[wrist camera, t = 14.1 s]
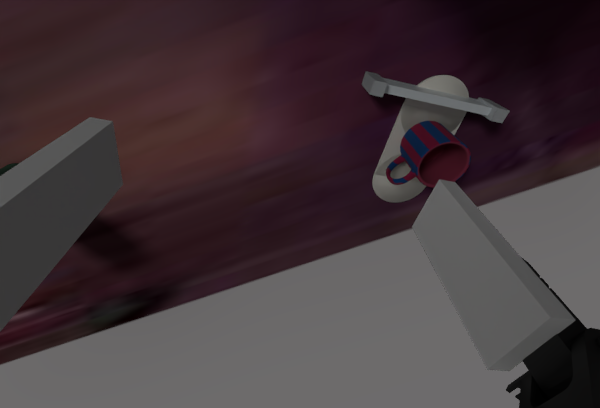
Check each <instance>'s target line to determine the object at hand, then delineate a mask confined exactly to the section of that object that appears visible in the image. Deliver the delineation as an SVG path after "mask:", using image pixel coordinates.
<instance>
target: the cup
mask: <svg viewBox="0 0 600 408" xmlns="http://www.w3.org/2000/svg"><path fill="white" fill-rule="evenodd" d="M400 152H401V155H400V156H399V157H398V158H396V159H395V160H394V161H392V162H391V163H390V164H389V166H388V167H387V169H386V176H387V179H388V180H389V182H390V183H392V184H394V185H401V184H404V183H406V182H408V181H410V180H412V179H413V178H415V177H417V178H418V180H419V181H420V182H421V183H422V184H424V185H425V186H428V187H432V188H434V187H435V186H436V184H437V182H438V180H439V179H441V180H446V181H452V182H455V181H457V180H458V179H459V178H460V177H461V176H462V175H463V174H464V173H465V172H466V170H467V169H468V167H469V164H470V161H471V154H470V151H469V149H468V147H467V146H466V145H465V144H464V143H462V142H461V141H460V140H459V139H458V138H457V137H455V136H454V135H453V134H452V133H451V132H450V131H449V130H447V129H446V128H445V127H444V126H443V125H442V124H440V123H438V122H436V121H423V122H420V123H418V124H416V125H414V126H413V127H411V128H410V129H409V130H408V131H407V132H406V133H405V135H404V136H403V138H402V140H401V144H400ZM404 161H405V162H406V163H407V164H408V166H409V167H410V169H411V171H410V172H409V173H408V174H407V175H406V176H404V177H402V178H399V179H394V178H392V177H391V176H390V174H391V171H392V170H393V169H394V168H395V167H396V166H397V165H399V164H400V163H402V162H404Z"/></svg>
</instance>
